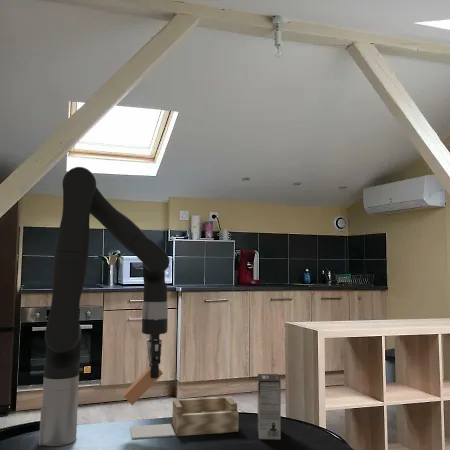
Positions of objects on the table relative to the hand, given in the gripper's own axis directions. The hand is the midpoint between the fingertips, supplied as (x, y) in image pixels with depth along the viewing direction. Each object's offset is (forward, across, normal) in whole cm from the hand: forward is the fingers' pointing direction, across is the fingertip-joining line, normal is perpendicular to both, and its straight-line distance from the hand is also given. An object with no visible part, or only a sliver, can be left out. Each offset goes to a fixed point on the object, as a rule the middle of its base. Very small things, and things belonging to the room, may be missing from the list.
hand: (153, 376), depth 137 cm
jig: (+16, 0, +15) cm, 22 cm away
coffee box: (+16, +9, +32) cm, 37 cm away
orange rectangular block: (+3, 0, -2) cm, 4 cm away
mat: (+16, 0, 0) cm, 16 cm away
